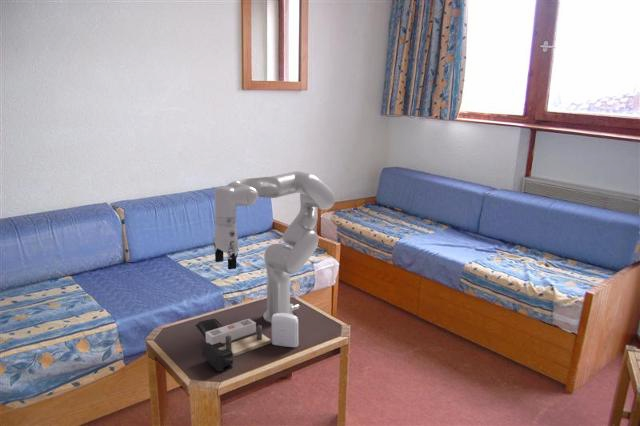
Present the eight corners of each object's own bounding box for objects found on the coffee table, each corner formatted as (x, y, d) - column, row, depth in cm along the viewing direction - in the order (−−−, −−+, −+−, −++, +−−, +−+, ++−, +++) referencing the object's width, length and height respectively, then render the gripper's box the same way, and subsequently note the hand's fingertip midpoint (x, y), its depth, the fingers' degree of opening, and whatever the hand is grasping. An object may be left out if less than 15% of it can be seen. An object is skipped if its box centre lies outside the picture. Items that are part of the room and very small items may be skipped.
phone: (215, 318, 205) (228, 333, 193) (215, 320, 206) (228, 336, 193) (196, 322, 202) (208, 338, 189) (196, 324, 202) (208, 340, 189)
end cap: (201, 362, 174) (200, 345, 172) (219, 356, 178) (219, 339, 177) (215, 375, 166) (214, 357, 165) (233, 368, 171) (233, 350, 169)
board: (260, 335, 193) (260, 321, 192) (271, 342, 188) (271, 327, 187) (216, 351, 181) (216, 335, 180) (226, 359, 176) (225, 343, 175)
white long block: (249, 327, 200) (249, 317, 199) (256, 332, 196) (255, 321, 195) (205, 341, 188) (205, 330, 187) (212, 347, 184) (211, 336, 183)
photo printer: (269, 345, 186) (269, 314, 183) (273, 339, 190) (273, 309, 187) (296, 349, 184) (296, 318, 181) (299, 343, 188) (300, 313, 185)
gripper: (246, 224, 178) (246, 269, 181) (223, 214, 191) (223, 257, 194) (227, 227, 173) (228, 273, 177) (205, 216, 186) (205, 260, 190)
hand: (225, 265), depth 186 cm, fingers open, 9 cm apart
